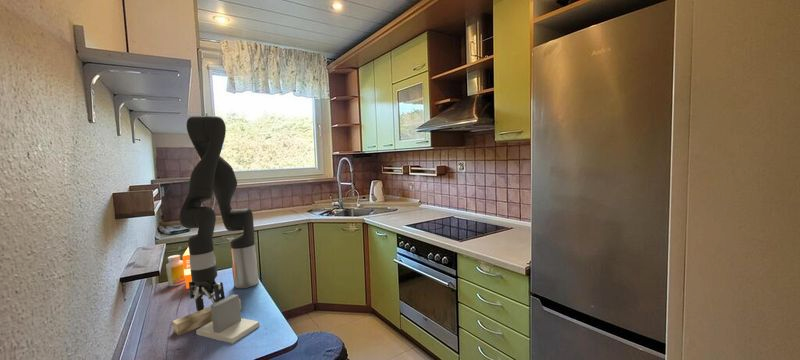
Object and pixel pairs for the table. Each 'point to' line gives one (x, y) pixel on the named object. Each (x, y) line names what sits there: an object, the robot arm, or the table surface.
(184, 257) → the orange juice
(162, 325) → the table surface
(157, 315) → the table surface
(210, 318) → the rectangular block
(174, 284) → the supplement bottle
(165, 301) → the table surface
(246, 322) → the stand
